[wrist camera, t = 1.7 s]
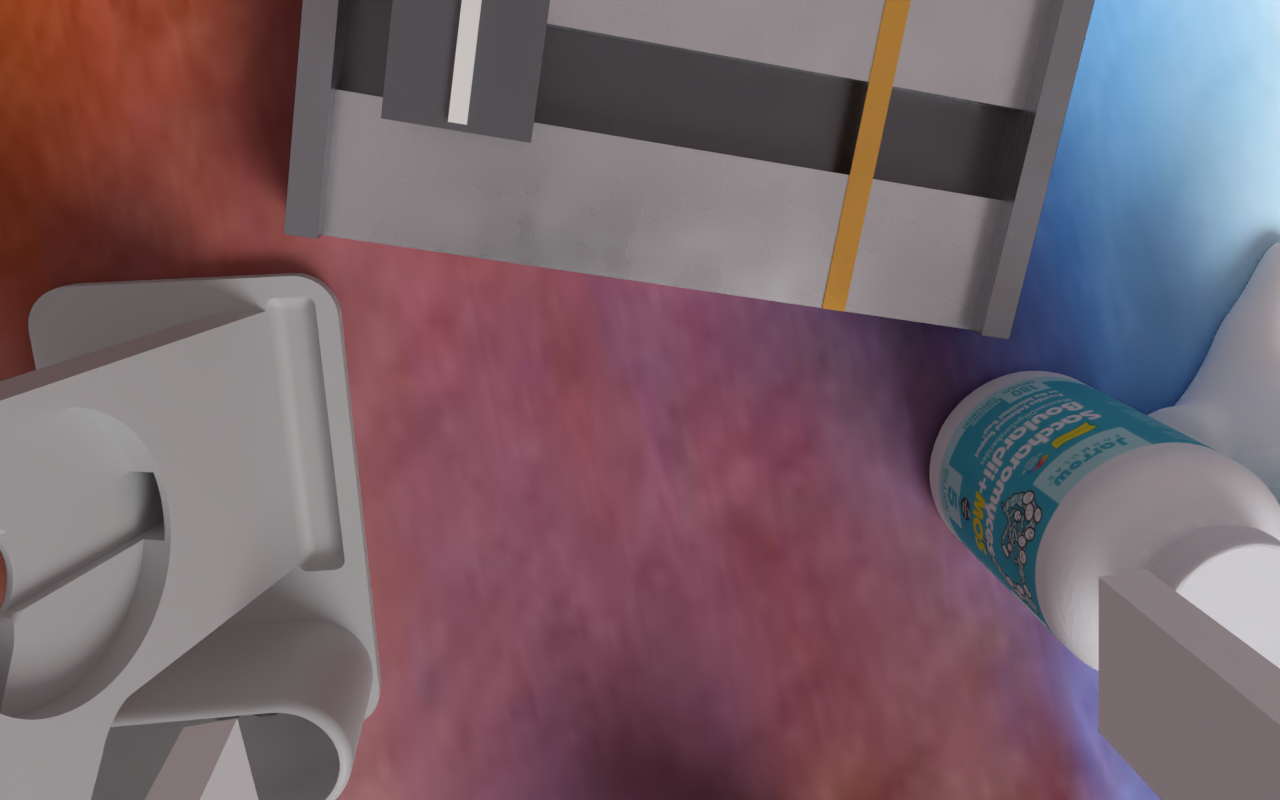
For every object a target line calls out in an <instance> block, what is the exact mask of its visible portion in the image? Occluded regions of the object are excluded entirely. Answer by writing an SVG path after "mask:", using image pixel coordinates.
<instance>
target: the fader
mask: <svg viewBox="0 0 1280 800" xmlns="http://www.w3.org/2000/svg"><path fill="white" fill-rule="evenodd" d="M549 5H550V0H393V2H392V12H391V22H390V32H389V42H388V52H387V62H386V72H385V82H384V92H383V102H382V112H381V119H388V120H394V121H400V122H406V123H412V124H418V125H424V126H430V127H436V128H443V129H449V130H455V131H461V132H467V133H473V134H479V135H485V136H491V137H497V138H504V139H510V140H516V141H522V142H528V143H531V139H532V132H533V124H534V117H535V109H536V102H537V94H538V87H539V79H540V72H541V65H542V57H543V50H544V42H545V35H546V27H547V20H548V12H549Z"/></svg>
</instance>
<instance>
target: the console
mask: <svg viewBox="0 0 1280 800" xmlns="http://www.w3.org/2000/svg"><path fill="white" fill-rule="evenodd" d="M1094 1H1095V0H550V5H549V12H548V20H547V27H546V35H545V42H544V50H543V57H542V65H541V72H540V79H539V87H538V94H537V102H536V109H535V117H534V124H533V132H532V139H531V143H528V142H522V141H516V140H510V139H504V138H497V137H491V136H485V135H479V134H473V133H467V132H461V131H455V130H449V129H443V128H436V127H430V126H424V125H418V124H412V123H406V122H400V121H394V120H388V119H381V112H382V102H383V92H384V82H385V72H386V62H387V52H388V42H389V32H390V22H391V12H392V2H393V0H303V4H302V17H301V29H300V41H299V54H298V66H297V79H296V91H295V104H294V116H293V129H292V141H291V154H290V166H289V178H288V191H287V203H286V216H285V228H284V234H288V235H295V236H302V237H309V238H316V239H318V238H319V237H321V236H322V235H326V236H333V237H340V238H347V239H354V240H360V241H367V242H374V243H381V244H388V245H395V246H401V247H408V248H415V249H422V250H429V251H436V252H442V253H449V254H456V255H463V256H470V257H477V258H483V259H490V260H497V261H504V262H511V263H518V264H524V265H531V266H538V267H545V268H552V269H559V270H565V271H572V272H579V273H586V274H593V275H600V276H606V277H613V278H620V279H627V280H634V281H641V282H647V283H654V284H661V285H668V286H675V287H682V288H689V289H695V290H702V291H709V292H716V293H723V294H730V295H736V296H743V297H750V298H757V299H764V300H771V301H777V302H784V303H791V304H798V305H805V306H812V307H818V308H824V309H830V310H837V311H844V312H845V311H846V312H853V313H859V314H866V315H873V316H880V317H887V318H894V319H900V320H907V321H914V322H921V323H928V324H935V325H941V326H948V327H955V328H962V329H969V330H971V331H973V332H975V333H978V334H980V335H982V336H989V337H996V338H1002V339H1009V337H1010V333H1011V329H1012V325H1013V321H1014V317H1015V313H1016V309H1017V305H1018V301H1019V297H1020V293H1021V290H1022V286H1023V282H1024V278H1025V274H1026V270H1027V266H1028V262H1029V258H1030V254H1031V250H1032V246H1033V242H1034V238H1035V234H1036V230H1037V226H1038V222H1039V218H1040V214H1041V210H1042V206H1043V202H1044V198H1045V195H1046V191H1047V187H1048V183H1049V179H1050V175H1051V171H1052V167H1053V163H1054V159H1055V155H1056V151H1057V147H1058V143H1059V139H1060V135H1061V131H1062V127H1063V123H1064V119H1065V115H1066V111H1067V107H1068V104H1069V100H1070V96H1071V92H1072V88H1073V84H1074V80H1075V76H1076V72H1077V68H1078V64H1079V60H1080V56H1081V52H1082V48H1083V44H1084V40H1085V36H1086V32H1087V28H1088V24H1089V20H1090V16H1091V13H1092V9H1093V5H1094Z"/></svg>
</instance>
